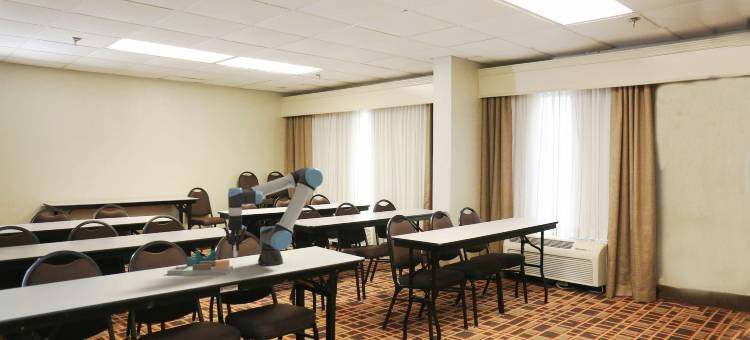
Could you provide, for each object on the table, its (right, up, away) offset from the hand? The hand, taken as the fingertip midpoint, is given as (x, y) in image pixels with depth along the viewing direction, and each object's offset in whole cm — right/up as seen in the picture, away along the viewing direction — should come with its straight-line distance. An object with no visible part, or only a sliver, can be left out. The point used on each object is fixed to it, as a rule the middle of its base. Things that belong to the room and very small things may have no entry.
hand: (235, 256), depth 300 cm
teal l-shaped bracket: (-27, -10, +20) cm, 35 cm away
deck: (-19, -9, +1) cm, 22 cm away
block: (-8, -7, +1) cm, 10 cm away
